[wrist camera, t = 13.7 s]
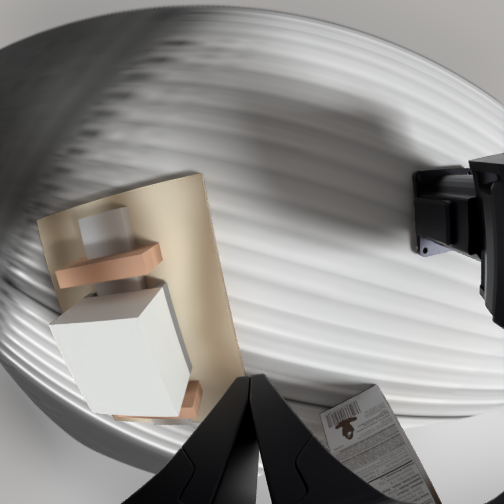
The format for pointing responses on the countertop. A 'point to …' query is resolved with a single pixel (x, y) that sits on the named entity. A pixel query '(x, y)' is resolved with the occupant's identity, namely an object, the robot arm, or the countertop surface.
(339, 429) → the coffee box
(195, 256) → the rail board
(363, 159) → the countertop surface
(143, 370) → the block
